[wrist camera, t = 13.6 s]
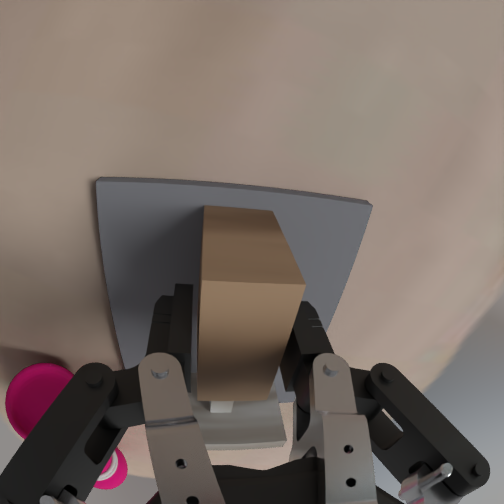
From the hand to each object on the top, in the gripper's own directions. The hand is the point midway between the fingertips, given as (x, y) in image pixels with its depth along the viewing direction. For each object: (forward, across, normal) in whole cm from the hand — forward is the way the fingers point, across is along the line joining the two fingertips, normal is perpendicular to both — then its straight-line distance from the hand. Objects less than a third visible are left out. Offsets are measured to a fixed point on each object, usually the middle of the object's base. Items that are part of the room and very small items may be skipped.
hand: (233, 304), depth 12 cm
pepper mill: (-1, +11, +8) cm, 14 cm away
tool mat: (+3, 0, +4) cm, 5 cm away
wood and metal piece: (+2, 0, +3) cm, 3 cm away
